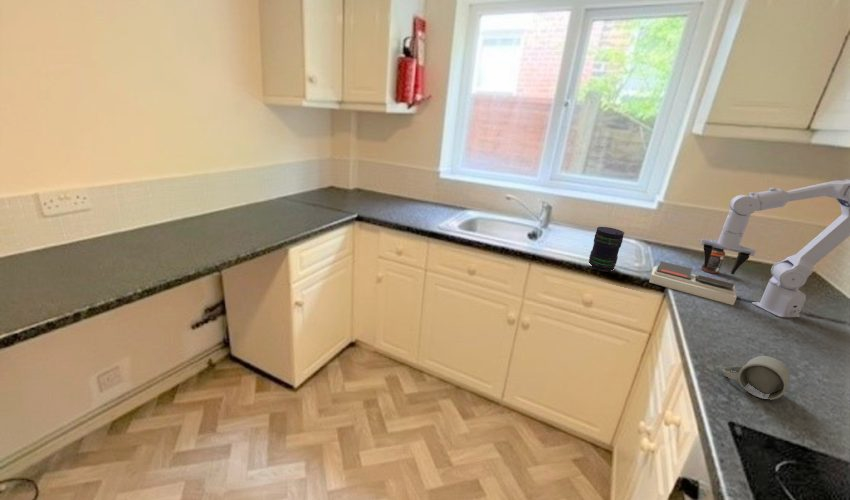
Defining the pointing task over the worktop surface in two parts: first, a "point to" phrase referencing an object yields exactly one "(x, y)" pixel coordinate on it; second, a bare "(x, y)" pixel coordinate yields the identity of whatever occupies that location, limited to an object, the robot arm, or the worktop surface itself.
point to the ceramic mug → (762, 375)
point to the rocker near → (714, 280)
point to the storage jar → (606, 248)
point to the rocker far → (674, 270)
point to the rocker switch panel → (695, 286)
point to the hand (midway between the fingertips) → (718, 269)
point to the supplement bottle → (714, 261)
